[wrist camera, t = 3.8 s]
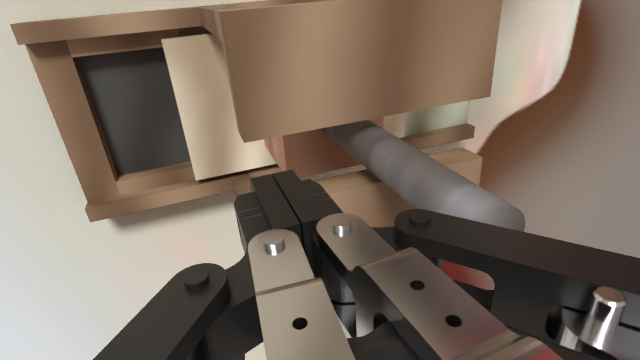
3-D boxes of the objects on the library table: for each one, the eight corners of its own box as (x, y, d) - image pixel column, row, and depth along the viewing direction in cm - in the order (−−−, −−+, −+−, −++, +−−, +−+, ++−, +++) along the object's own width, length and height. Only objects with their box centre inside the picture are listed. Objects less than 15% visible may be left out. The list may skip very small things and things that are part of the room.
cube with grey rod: (194, 174, 27) (235, 448, 10) (161, 38, 23) (141, 133, 6) (397, 133, 31) (653, 280, 15) (399, 12, 27) (753, 29, 11)
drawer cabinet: (96, 204, 27) (38, 365, 15) (25, 22, 22) (-151, 47, 10) (455, 129, 35) (602, 195, 23) (467, -18, 30) (667, -31, 18)
